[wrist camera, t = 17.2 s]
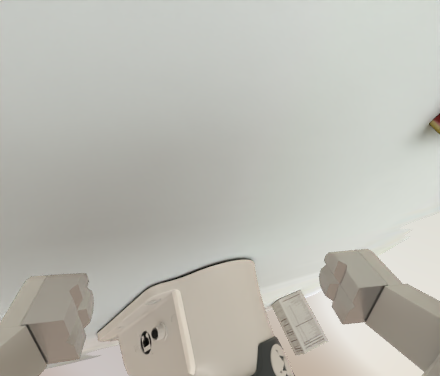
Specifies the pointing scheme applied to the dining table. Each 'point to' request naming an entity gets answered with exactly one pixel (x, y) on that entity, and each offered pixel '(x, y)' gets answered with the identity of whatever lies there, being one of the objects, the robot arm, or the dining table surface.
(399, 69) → the dining table surface
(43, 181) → the dining table surface
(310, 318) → the supplement box
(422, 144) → the dining table surface
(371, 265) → the robot arm
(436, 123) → the hardcover book
